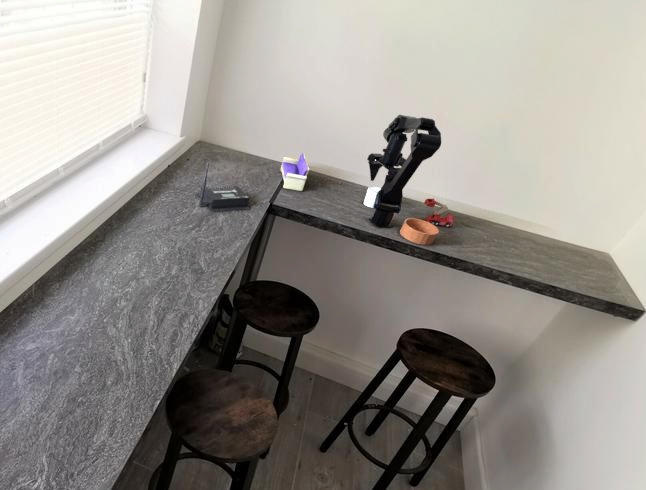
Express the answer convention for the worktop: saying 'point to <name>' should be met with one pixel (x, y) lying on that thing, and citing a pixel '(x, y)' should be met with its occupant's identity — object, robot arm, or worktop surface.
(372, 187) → the shot glass
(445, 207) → the toy fire truck
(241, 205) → the black wifi router
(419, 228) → the bowl
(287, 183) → the toy sofa
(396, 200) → the robot arm
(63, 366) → the worktop surface
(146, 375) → the worktop surface
